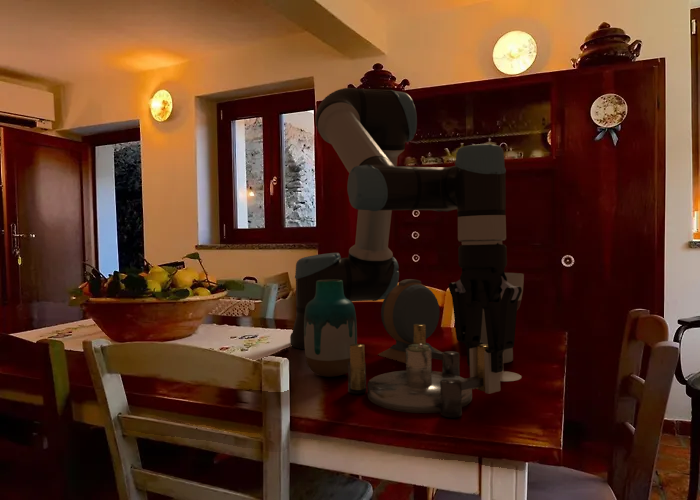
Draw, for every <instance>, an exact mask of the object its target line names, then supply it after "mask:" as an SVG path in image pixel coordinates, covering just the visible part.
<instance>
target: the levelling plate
mask: <svg viewBox="0 0 700 500" xmlns="http://www.w3.org/2000/svg"><path fill="white" fill-rule="evenodd" d="M432 367H433V366H432V358H431V349H430V348H429V346H428V345H424V344H412V345H409V346H408V348H407V349H406V363H405V370H397V371H391V372H385V373H382V374H378V375H375V376H374V377H372V378H370V379H369V380H368V382H367V383H366V390H367V399H368V400H369V401H370V402H371V403H372V404H374V405H376V406H378V407H380V408H383V409H387V410H389V411H390V410H391V411H396V412H401V413H409V414H412V413H413V414H436V413H437V414H439V413H441V395H440V381H441V380H443V379H456V380H460V379H465V377H462V376H457V375H453V374H449V373H444V372H443V371H436V370H432ZM472 401H473V389H471V388H470V389H466V390H462V408H464V407H466V406H468V405H469V404H470V403H471V402H472Z"/></svg>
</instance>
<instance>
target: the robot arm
mask: <svg viewBox="0 0 700 500" xmlns="http://www.w3.org/2000/svg"><path fill="white" fill-rule="evenodd" d="M415 105H416V104H414V100H413V98H412V97H411V96H410V95H409V94H408V93H407V92H404V91H398V90H393V89H374V88H373V89H371V88H356V87H345V88H340V89H337V90H334V91H332V92H331V93H329V94H327V95H326V96H325V97H324V98H323V100H322V101H321V102H320V104H319V105H318V106H317V109H316V112H315V120H314V122H315V127H316V129H317V132H318V133H319V135H320V137H321V138H322V139H323V141H324V142H326V143H328V144H330V145H331V146H332V148H333V149H334V151H335V153H337V156H338V158H339V160H340V161H341V162H342V164H343V165H344V168H345V169H346V170H347V172H348V173H349V174H348V177H347V178H348V179H347V190H346V191H347V196H348V201H349V203H350V206H351V207H352V208H354V209H356V210H357V218H356V219H357V221H356V231H355V244H354V245H352V246H351V247H350V248H349V249H348V257H342V256H341V254H340V253H339V252H330V253H322V254H314V255H309V256H308V255H307V256H304V257H302V258H299V259H298V260H297V261H296V264H295V273H294V274H295V275H294V279H295V302H296V303H295V305H296V308H295V309H296V310H295V311H296V312H295V313H296V314H295V315H296V316H295V319H294V322H293V328H292V332H291V334H290V336H289V338H290V339H289V341H290V342H289V345H290V344H291V345H292V346H293V348H296V349H299V350H300V349H301V350H305V344H304V316H305V308H306V305H307V304H308V302H310V301H311V300H313V299H314V297H315V294H316V281H318V280H329V279H335V280H342V281H343V290H344V295H345V297H346V298H347V299H348V300H350V301H351V302H352V303H353V302H365V301H366V302H368V301H372V302H375V301H376V302H377V301H379V300H384V299H385V297H386V295H387V294H388V293H389V292H390V290H391V289H392V288H394V287H395V286H397V285H399V278H400V271H399V269H400V267H399V263H398V261H397V259H396V258H395V257H394V255H393V253H394V252H393V251H392V250H391V249H390V248H389V239H390V231H391V221H392V212H393V211H434V212H451V211H454V210H456V212H457V240H458V242H461V244H460V245H459V247H458V248H457V251H458V252H457V255H458V261H457V262H458V267H460V269H461V274H460V276H459V279H458V280H457V281H454V282H449V283H448V284H447V285H448V290H449V293H450V295H451V298H452V299H451V300H452V307H453V315H454V316H453V318H454V325H455V326H454V327H455V336H456V340H457V342H459V343H460V342H461V343H463V344H464V345H465V347H466V362H467V366H468V367H469V378H470V377H475V376H477V345H480V344H483V342H482V341H481V327H482V313H483V309H484V315H485V323H486V332H487V341H488V349H485V352H484V360H485V391H484V393H485V394H494V393H497V392H500V391H501V381H500V372H502V371H504V363H503V351H504V350H506V349H510V348H514V346H515V339H516V328H517V327H516V326H517V325H516V324H517V313H518V312H517V311H518V310H517V303H518V299H519V297H520V294H521V292H522V289H521V287H520V286H513V285H511V284H510V283H508V282H507V277H506V275H505V273H506V272H505V268H506V267H507V265H508V255H507V254H508V252H507V249H508V247H507V246H506V244H504V243H503V241H506V240H507V222H506V221H507V219H506V218H507V217H506V209H507V208H506V206H507V203H506V201H507V200H506V199H507V196H506V195H507V193H506V192H507V190H506V187H507V186H506V185H507V183H506V178H507V177H506V173H507V170H506V169H507V168H506V166H505V165H506V164H505V155H504V154H505V152H504V151H505V150H504V149H503V148H502V147H501V145H497V144H491V143H480V144H479V143H478V144H470V145H469V144H468V145H465V146H462V147H460V148H458V149H457V151H456V156H455V161H454V165H452V166H448V167H447V166H446V167H445V166H444V167H438V166H436V167H435V166H432V167H431V166H401V165H398V158H399V156H400V154H402V153H403V152H404V151H405V149H406V143H409V142H411V141H413V140H414V138H415V135H416V132H417V127H418V117H417V116H418V114H417V110H416V106H415ZM501 296H502V299H501ZM489 302H491V303H489ZM463 332H464V334H463ZM291 345H290V346H291ZM292 346H291V347H292ZM471 389H472V390H476V389H477V387H475V388H471ZM477 390H478V389H477Z"/></svg>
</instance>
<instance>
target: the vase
mask: <svg viewBox="0 0 700 500" xmlns="http://www.w3.org/2000/svg"><path fill="white" fill-rule="evenodd" d="M304 344H305V349H304V353H305V360H306V364H307V367H308V368H309V370H310V371H311V373H314V374H315V375H317V376H321V377H329V378H332V377H340V376H343V375H346V374H348V363H349V362H350V345H352V344H358V328H357V315H356V309H355V305H354V303H353V301H352V302H351V301H350V300H348V299H347V298H346V297H345V295H344V290H343V281H342V280H335V279H329V280H318V281H316V294H315V297H314V299H313V300H311V301H310V302H308V304H307V305H306V308H305V316H304Z"/></svg>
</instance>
